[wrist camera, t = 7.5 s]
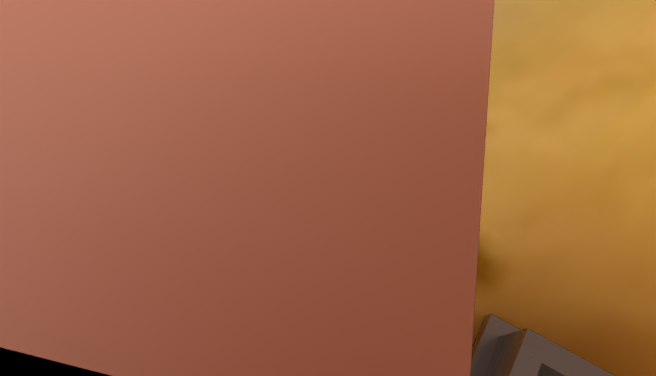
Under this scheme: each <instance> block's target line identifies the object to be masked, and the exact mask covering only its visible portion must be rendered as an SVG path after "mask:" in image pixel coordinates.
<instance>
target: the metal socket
mask: <svg viewBox="0 0 656 376" xmlns="http://www.w3.org/2000/svg"><path fill="white" fill-rule="evenodd" d="M470 376H614V375H612V374H610V373H608V372H607V371H605V370H603V369H601V368H599V367H598V366H596V365H594V364H592V363H590V362H588V361H587V360H585V359H583V358H581V357H579V356H578V355H576V354H574V353H572V352H570V351H568V350H567V349H565V348H563V347H561V346H559V345H558V344H556V343H554V342H552V341H550V340H548V339H547V338H545V337H543V336H541V335H539V334H537V333H536V332H534V331H532V330H530V329H528V328H527V329H523V330H520V329H518V328H516V327H514V326H513V325H511V324H509V323H507V322H505V321H504V320H502V319H500V318H498V317H496V316H495V315H493V314H490V315H487V316H485V319H484V321H483V323H482V326H481V328H480V331H479V333H478V335H477V338H476V340H475V342H474V345H473V347H472V354H471V370H470Z"/></svg>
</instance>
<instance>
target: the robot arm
mask: <svg viewBox="0 0 656 376" xmlns="http://www.w3.org/2000/svg"><path fill="white" fill-rule="evenodd" d="M32 358H33V355H29V354H25V353H21V352H17V351H15V360H16V376H22V374H23V373H24V371H25V370H26V368H27V366H28V365H29V363H30V361H31V360H32Z"/></svg>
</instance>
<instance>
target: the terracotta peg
mask: <svg viewBox="0 0 656 376" xmlns="http://www.w3.org/2000/svg"><path fill="white" fill-rule="evenodd" d="M493 15H494V0H0V376H16V360H15V351H17V352H21V353H25V354H29V355H33V358H32V360H31V361H30V363H29V365H28V366H27V368H26V370H25V371H24V373H23V374H22V376H470V370H471V354H472V339H473V324H474V308H475V293H476V277H477V262H478V246H479V231H480V215H481V200H482V185H483V169H484V154H485V138H486V123H487V107H488V92H489V77H490V61H491V46H492V30H493Z"/></svg>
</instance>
